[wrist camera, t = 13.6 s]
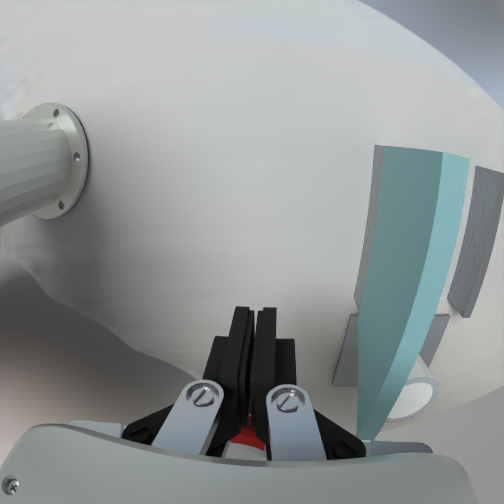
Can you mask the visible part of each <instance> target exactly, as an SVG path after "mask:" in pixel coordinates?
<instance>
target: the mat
mask: <svg viewBox="0 0 504 504" xmlns="http://www.w3.org/2000/svg"><path fill="white" fill-rule="evenodd" d="M357 318H358V314H350V317H349V321H348V325H347V330H346V334H345V338H344V342H343V346H342V350H341V353H340V357H339V361H338V364H337V368H336V371H335V375H334V378H333V382H332V386H358V329H357ZM449 319H450V316H449V314H434V317H433V320H432V322H431V325H430V328H429V330H428V333H427V335H426V338H425V340H424V343H423V345H422V348H421V350H420V352H419V355H420V357H421V358H422V360H423V361H424V363H425V364H426V366H427V367H429V365H430V363H431V361H432V359H433V356H434V354H435V352H436V350H437V348H438V345H439V343H440V341H441V338H442V336H443V334H444V331H445V329H446V326H447V324H448V321H449Z"/></svg>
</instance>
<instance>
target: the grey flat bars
mask: <svg viewBox="0 0 504 504" xmlns="http://www.w3.org/2000/svg"><path fill="white" fill-rule="evenodd" d="M383 156H384V146H380V145H375V148H374V162H373V173H372V184H371V193H370V202H369V210H368V217H367V225H366V232H365V238H364V245H363V251H362V257H361V263H360V268H359V274H358V279H357V284H356V289H355V294H354V298H355V301H356V303H357V306H358V309H360V305H361V301H362V296H363V292H364V287H365V282H366V277H367V272H368V267H369V262H370V256H371V251H372V245H373V239H374V233H375V226H376V219H377V212H378V205H379V197H380V188H381V178H382V168H383ZM503 196H504V173H501V172H497V171H494V170H490V169H486V168H483V167H479V166H476V171H475V179H474V187H473V194H472V200H471V206H470V212H469V217H468V222H467V227H466V232H465V236H464V241H463V245H462V249H461V253H460V257H459V261H458V264H457V268H456V272H455V275H454V278H453V282H452V285H451V288H450V291H449V294H448V297H447V299H448V300H449V301H450V303H451V304H452V305H453V306H454V307H455V309H456V310H457V311H458V312H459V314H460V315H461V316H462V318H470V316H471V313H472V311H473V308H474V306H475V303H476V300H477V297H478V295H479V292H480V289H481V286H482V283H483V280H484V277H485V273H486V270H487V267H488V263H489V260H490V256H491V253H492V249H493V245H494V241H495V237H496V232H497V228H498V223H499V218H500V213H501V208H502V202H503Z"/></svg>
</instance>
